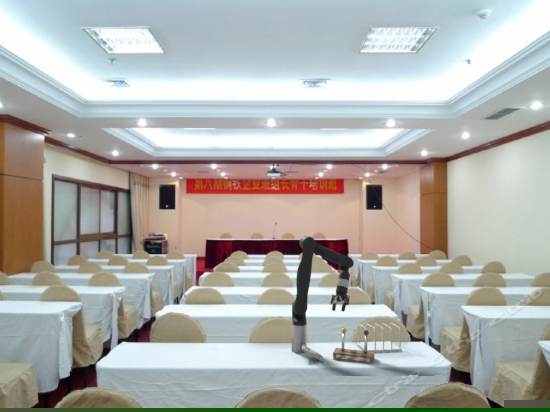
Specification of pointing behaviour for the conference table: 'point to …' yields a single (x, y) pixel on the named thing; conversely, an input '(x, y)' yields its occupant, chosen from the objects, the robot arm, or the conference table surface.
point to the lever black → (365, 341)
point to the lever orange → (343, 338)
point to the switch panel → (353, 355)
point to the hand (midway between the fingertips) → (338, 311)
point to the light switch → (312, 353)
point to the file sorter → (380, 346)
